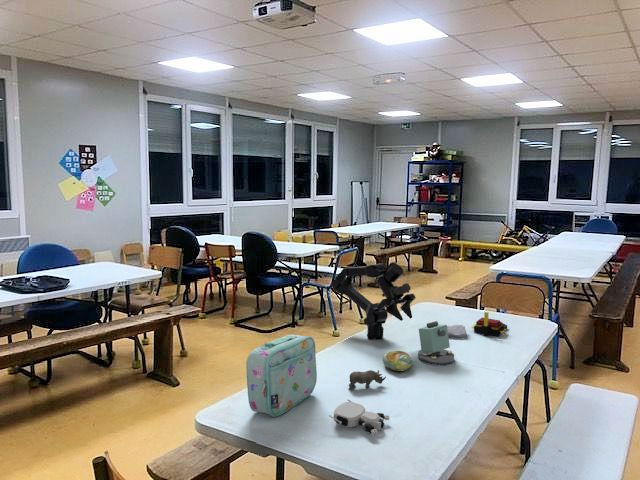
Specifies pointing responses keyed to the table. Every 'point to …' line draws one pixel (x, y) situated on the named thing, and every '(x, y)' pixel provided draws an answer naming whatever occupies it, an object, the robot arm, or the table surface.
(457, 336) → the stone block
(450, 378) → the table surface
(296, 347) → the lunch box
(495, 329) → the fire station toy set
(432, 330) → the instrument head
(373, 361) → the table surface
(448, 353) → the dark grey disc
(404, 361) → the cell model
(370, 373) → the rhino figurine
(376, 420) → the robot toy
